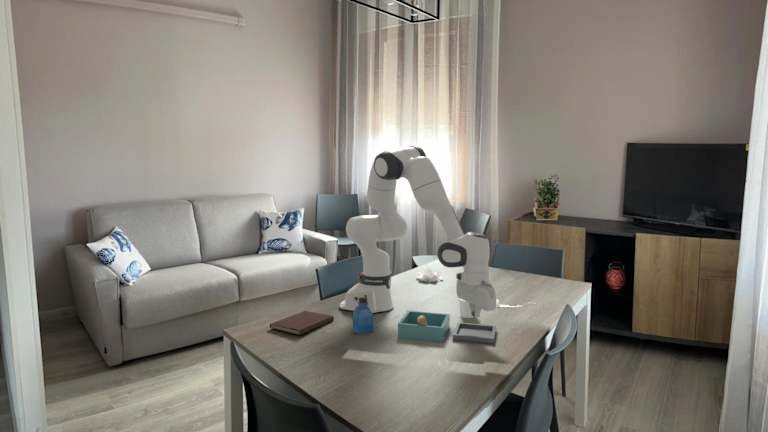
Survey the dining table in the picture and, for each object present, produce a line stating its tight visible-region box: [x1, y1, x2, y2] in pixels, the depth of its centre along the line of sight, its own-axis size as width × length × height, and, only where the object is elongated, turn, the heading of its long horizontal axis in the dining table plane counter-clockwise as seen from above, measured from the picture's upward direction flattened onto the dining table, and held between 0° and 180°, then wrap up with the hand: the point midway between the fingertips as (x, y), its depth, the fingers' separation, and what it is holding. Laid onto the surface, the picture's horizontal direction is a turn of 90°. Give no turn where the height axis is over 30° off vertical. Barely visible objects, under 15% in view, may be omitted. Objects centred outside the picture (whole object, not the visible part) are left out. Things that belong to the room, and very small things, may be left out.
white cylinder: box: [458, 298, 475, 319], centre depth 205 cm, size 7×7×7 cm
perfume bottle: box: [352, 298, 374, 335], centre depth 187 cm, size 6×6×12 cm
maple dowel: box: [417, 315, 428, 326], centre depth 183 cm, size 3×3×9 cm
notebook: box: [269, 310, 335, 336], centre depth 196 cm, size 15×20×2 cm
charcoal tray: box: [452, 322, 497, 345], centre depth 183 cm, size 14×14×2 cm
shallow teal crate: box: [397, 310, 451, 343], centre depth 186 cm, size 16×16×5 cm
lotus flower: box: [415, 266, 444, 283], centre depth 255 cm, size 14×15×9 cm
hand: (475, 316), depth 182 cm, fingers closed
